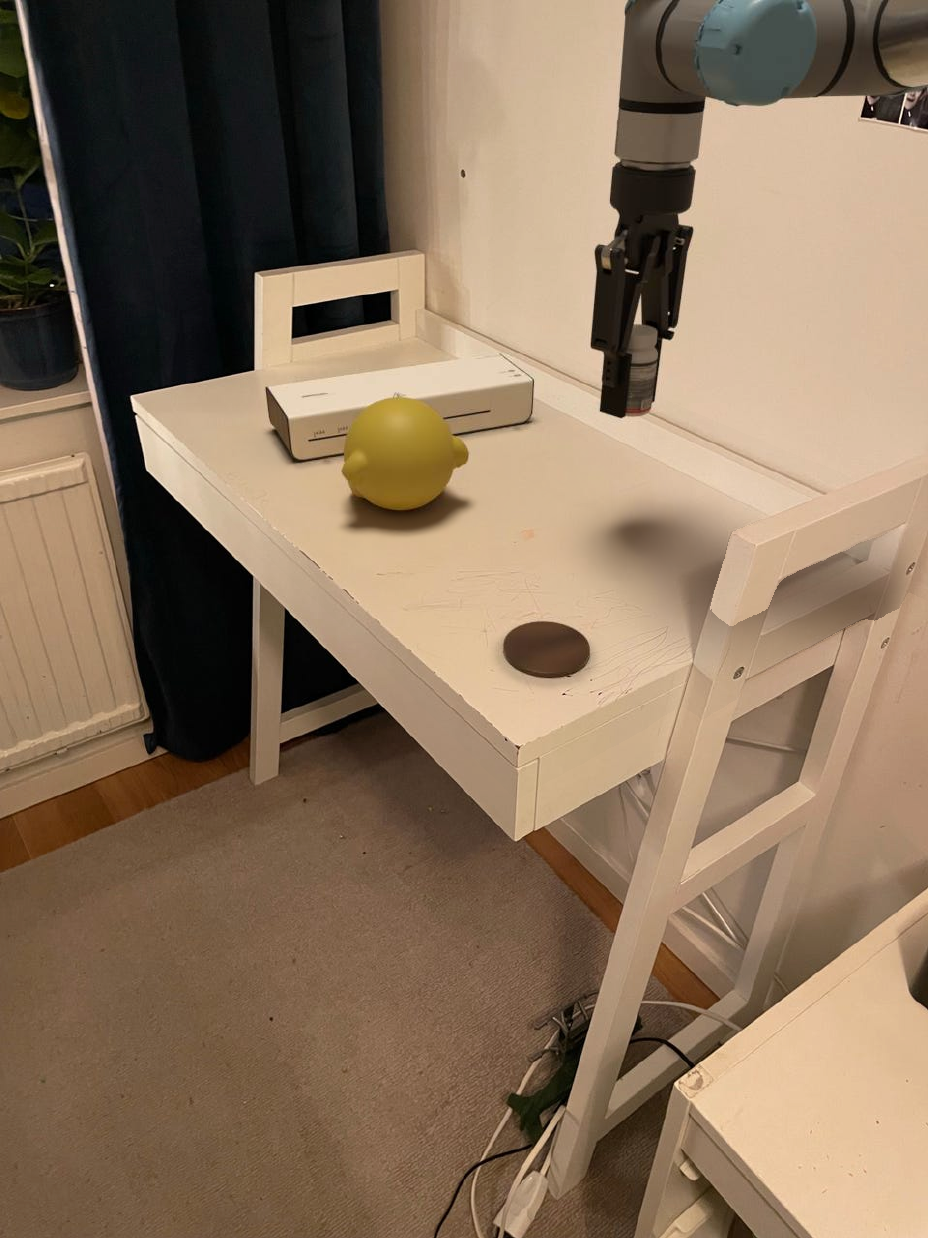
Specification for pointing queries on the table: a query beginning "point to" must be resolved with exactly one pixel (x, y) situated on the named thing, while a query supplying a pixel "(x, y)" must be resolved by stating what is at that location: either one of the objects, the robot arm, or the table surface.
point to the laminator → (452, 388)
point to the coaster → (546, 649)
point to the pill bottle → (641, 370)
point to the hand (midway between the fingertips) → (627, 405)
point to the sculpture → (400, 454)
